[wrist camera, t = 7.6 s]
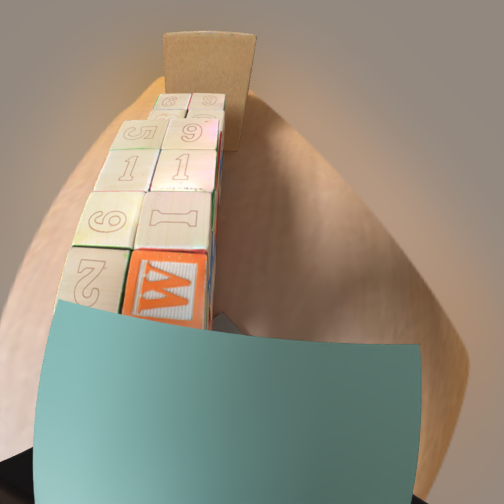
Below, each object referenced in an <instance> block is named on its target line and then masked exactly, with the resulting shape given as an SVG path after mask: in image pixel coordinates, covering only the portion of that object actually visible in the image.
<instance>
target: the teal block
mask: <svg viewBox="0 0 504 504" xmlns="http://www.w3.org/2000/svg"><path fill="white" fill-rule="evenodd" d="M420 426H421V356H420V344H349V343H328V342H312V341H299V340H287V339H276V338H266V337H256V336H248V335H239V334H232V333H224V332H217V331H210V330H203V329H197V328H190V327H184V326H178V325H173V324H167V323H161V322H156V321H151V320H146V319H141V318H136V317H131V316H126V315H122V314H117V313H113V312H108V311H104V310H100V309H96V308H91V307H87V306H83V305H80V304H76V303H72V302H68V301H64V300H61V299H58V302H57V306H56V309H55V313H54V316H53V320H52V324H51V328H50V332H49V336H48V340H47V345H46V349H45V354H44V359H43V364H42V370H41V375H40V381H39V388H38V395H37V403H36V413H35V424H34V441H33V482H34V498H35V504H411V500H412V495H413V489H414V483H415V476H416V469H417V461H418V452H419V441H420Z"/></svg>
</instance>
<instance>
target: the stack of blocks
mask: <svg viewBox="0 0 504 504" xmlns="http://www.w3.org/2000/svg"><path fill="white" fill-rule="evenodd" d="M225 96H226V95H225V94H212V93H193V94H190V93H176V94H160V95H159V97H158V99H157V101H156V103H155V105H154V108H153V110H152V111H151V112H150V115H149V117H148V119H147V120H127V121H124V122H123V124H122V126H121V128H120V130H119V132H118V134H117V136H116V138H115V139H114V141H113V143H112V146H111V148H110V152H109V154H108V156H107V158H106V160H105V162H104V164H103V166H102V169H101V172H100V174H99V176H98V178H97V180H96V183H95V185H94V189H93V192H92V193H90V195H89V197H88V200H87V202H86V205H85V207H84V210H83V213H82V215H81V218H80V221H79V223H78V226H77V229H76V232H75V235H74V239H73V242H72V248H70V249H69V251H68V254H67V257H66V260H65V264H64V267H63V270H62V274H61V278H60V281H59V285H58V289H57V293H56V297H55V301H54V306H53V312H54V313H55V309H56V306H57V302H58V299H61V300H64V301H68V302H72V303H76V304H80V305H83V306H87V307H91V308H96V309H100V310H104V311H108V312H113V313H117V314H122V315H126V316H131V317H136V318H141V319H146V320H151V321H156V322H161V323H167V324H173V325H178V326H184V327H190V328H197V329H203V330H210V331H212V318H213V298H214V284H215V268H216V248H215V246H216V232H217V212H218V206H219V205H220V194H221V182H222V164H223V146H224V131H225V121H224V120H225V111H224V110H225Z"/></svg>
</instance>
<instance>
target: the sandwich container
mask: <svg viewBox="0 0 504 504" xmlns="http://www.w3.org/2000/svg"><path fill="white" fill-rule="evenodd" d="M256 40H257V37H256V36H255V35H254V34H247V33H236V32H224V31H187V32H173V33H165V34H164V37H163V51H164V74H165V92H166V94H176V93H190V94H193V93H212V94H225V95H226V96H225V110H224V111H225V120H224V121H225V131H224V146H223V150H226V151H238V148H239V142H240V136H241V130H242V124H243V118H244V113H245V107H246V101H247V96H248V90H249V84H250V77H251V71H252V65H253V58H254V52H255V46H256Z"/></svg>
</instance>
